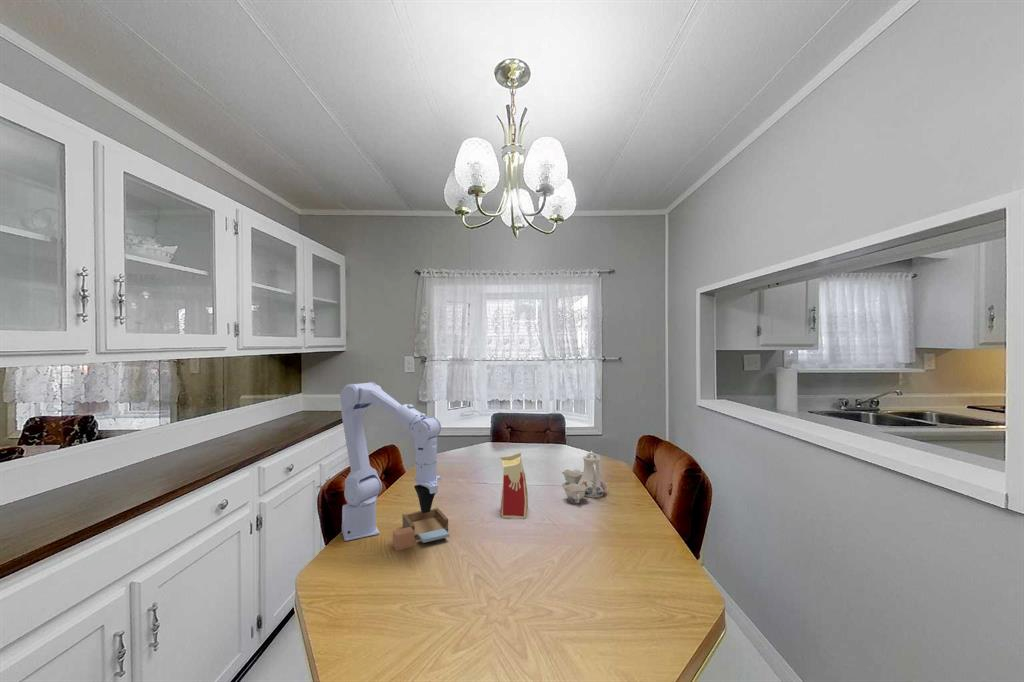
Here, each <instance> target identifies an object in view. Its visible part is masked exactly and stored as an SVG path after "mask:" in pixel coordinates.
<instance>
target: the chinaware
mask: <svg viewBox="0 0 1024 682" xmlns="http://www.w3.org/2000/svg"><path fill="white" fill-rule="evenodd" d="M586 454H587V455H585V456H583V457H582V459H583V463H584V464H583V471H581V470H579V469H573V470H570V469H566V470H564V471H562V473H561V474H563V478H564V480H565V481H566V483H567V484H563V485H562V487H563V490H564V492H565V495H566V497H567V499H569V500H570V501H569V502H571V503H572V504H579V503H580V502H581V500H582V499H583V498H584V497H585V498H588V499H589V498H591V499H596V498H597V499H598V498H601V497H603V496H604V492H605V491H606V489H607V483H606V482H605V480H604V478H602V474H601V472H600V461H601V458H600V457H599V456H597V455H596V454H595V453H594V451H593V450H590V452H588V453H586Z"/></svg>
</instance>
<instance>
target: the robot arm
mask: <svg viewBox="0 0 1024 682" xmlns="http://www.w3.org/2000/svg"><path fill="white" fill-rule="evenodd" d="M339 397H340V403H341V404H340V405H341V409H340V410H341V420H342V424H343V425H342V426H343V432H344V436H345V444H346V449H347V456H348V462H349V467H350V472H349V473H348V475H347V476H346V477H345V480H344V499H345V501H346V502H347V504H343V505H342V510H341V513H342V514H341V518H342V519H341V533H342V536H343V540H344V541H345V542H347V541H352V540H356V539H361V538H366V537H370V536H371V537H372V536H377V535H379V534H380V531H379V529H378V527H377V500H378V497H379V496H378V495H379V494H380V493H381V491H382V488H383V484H382V481H381V479H380V478H379V475H378V471H377V470H376V469H375V468H373V467H372V466H371V464H370V458H369V451H368V447H367V445H368V444H367V440H366V434H365V429H364V422H363V417H362V415H363V414H364V412H365V411H366V409H367V408H369V407H371V405H373V404H374V405H376V406H379V407H380V408H382V409H383V410H385V411H387V412H388V413H390V414H392V415H393V416H394V421H395V422H397V424H399V425H401V426H402V427H404V428H405V429H406V430H407V431H409V432H410V433H411V436H412V439H414V445H415V472H414V473H415V476H414V482H415V483H416V484H415V485H414V487H413V488H414V490H415V492H416V495H417V497H418V501H419V502H418V503H419V508H420V511H421V512H422V513H427V512H430V510H431V509H432V505H433V502H434V498H435V496H436V494H438V493H439V485H438V481H440V480H441V476H440V475H439V474H438V475H437V473H438V472H437V470H438V469H437V468H438V467H437V465H438V463H437V462H438V461H437V459H438V458H437V457H438V456H437V455H438V453H437V452H438V436H440V434H441V432H442V424H441V423H440V422H441V421H439V419H437V417H436V416H427V414H425V413H422V412H421V411H418V410H417V409H416V408H415V405H413V404H411V403H410V404H408V403H404V404H401V403H399V402H398V401H397V400H396V399H394V397H393V396H391V395H389V394H388V393H386V392H385V390H383V389H382V387H381V385H378V384H376V383H375V382H373V381H369V382H364V383H363V382H362V383H348V384H346V385H345V386H344V387H343V388H342V390H341V392H340V393H339Z"/></svg>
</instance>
